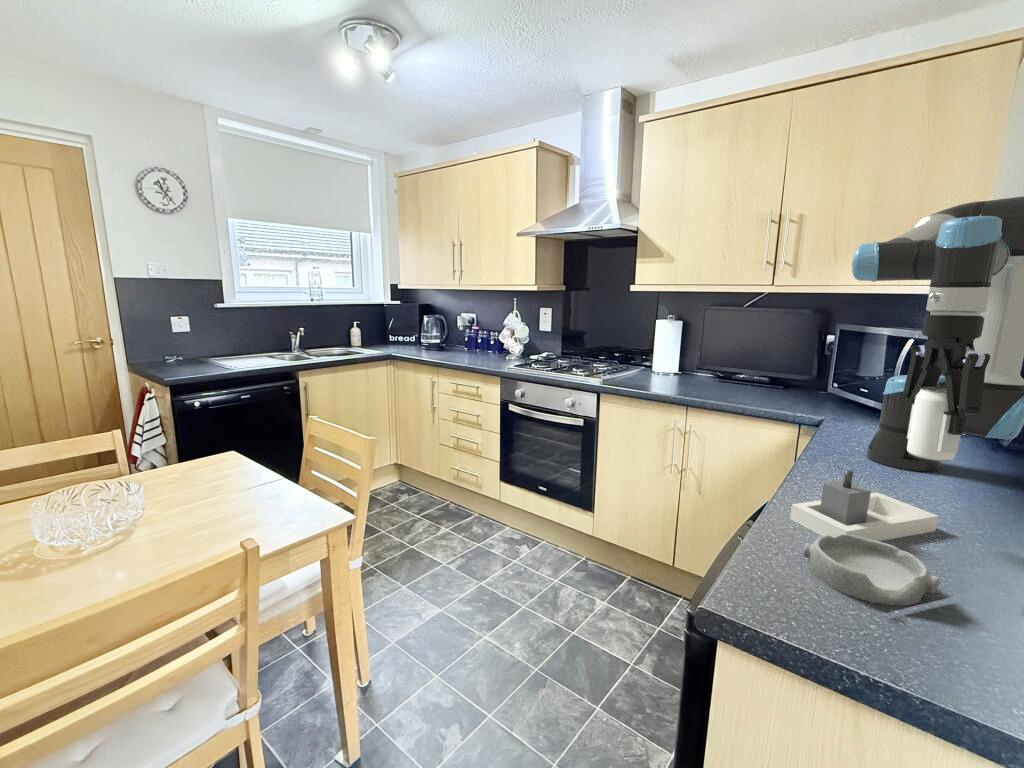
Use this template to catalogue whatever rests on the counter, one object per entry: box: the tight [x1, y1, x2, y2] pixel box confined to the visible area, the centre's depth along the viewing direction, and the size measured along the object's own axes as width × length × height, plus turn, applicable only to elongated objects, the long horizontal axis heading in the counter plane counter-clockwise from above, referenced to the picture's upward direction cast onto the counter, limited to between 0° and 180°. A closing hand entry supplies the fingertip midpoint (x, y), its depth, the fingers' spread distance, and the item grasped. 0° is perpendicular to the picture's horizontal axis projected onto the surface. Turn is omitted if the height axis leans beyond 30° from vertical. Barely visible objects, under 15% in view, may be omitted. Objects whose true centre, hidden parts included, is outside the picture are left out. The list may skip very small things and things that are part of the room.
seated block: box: [820, 469, 872, 526], centre depth 87 cm, size 5×5×11 cm
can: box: [907, 387, 959, 462], centre depth 84 cm, size 6×6×12 cm
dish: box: [802, 534, 941, 606], centre depth 72 cm, size 14×14×5 cm
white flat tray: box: [789, 491, 939, 542], centre depth 89 cm, size 22×11×4 cm, turn 107°
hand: (930, 444), depth 84 cm, fingers closed on can, 6 cm apart
